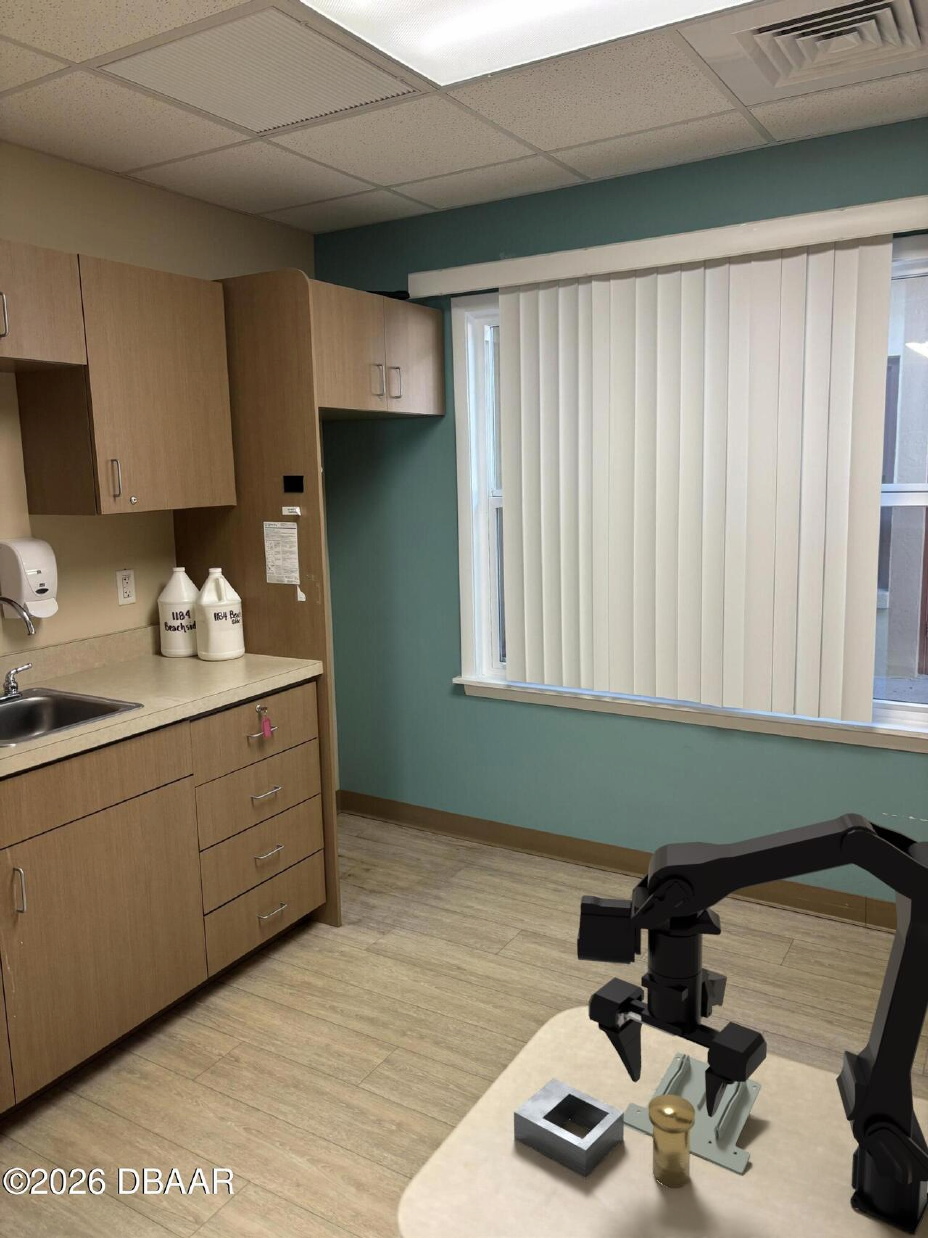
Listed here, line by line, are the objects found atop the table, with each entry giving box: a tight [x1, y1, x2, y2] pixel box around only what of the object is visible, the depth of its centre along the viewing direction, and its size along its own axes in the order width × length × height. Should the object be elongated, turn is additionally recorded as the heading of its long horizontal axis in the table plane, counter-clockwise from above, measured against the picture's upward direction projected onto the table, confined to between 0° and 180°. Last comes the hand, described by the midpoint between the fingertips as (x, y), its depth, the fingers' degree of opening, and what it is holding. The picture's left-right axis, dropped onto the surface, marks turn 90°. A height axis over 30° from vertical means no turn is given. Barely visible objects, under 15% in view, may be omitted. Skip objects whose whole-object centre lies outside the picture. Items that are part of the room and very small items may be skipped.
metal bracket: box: [624, 1052, 762, 1176], centre depth 114 cm, size 14×6×15 cm
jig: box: [513, 1077, 625, 1179], centre depth 111 cm, size 10×8×4 cm
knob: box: [648, 1095, 695, 1189], centre depth 105 cm, size 5×5×8 cm
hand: (673, 1097), depth 104 cm, fingers open, 9 cm apart
